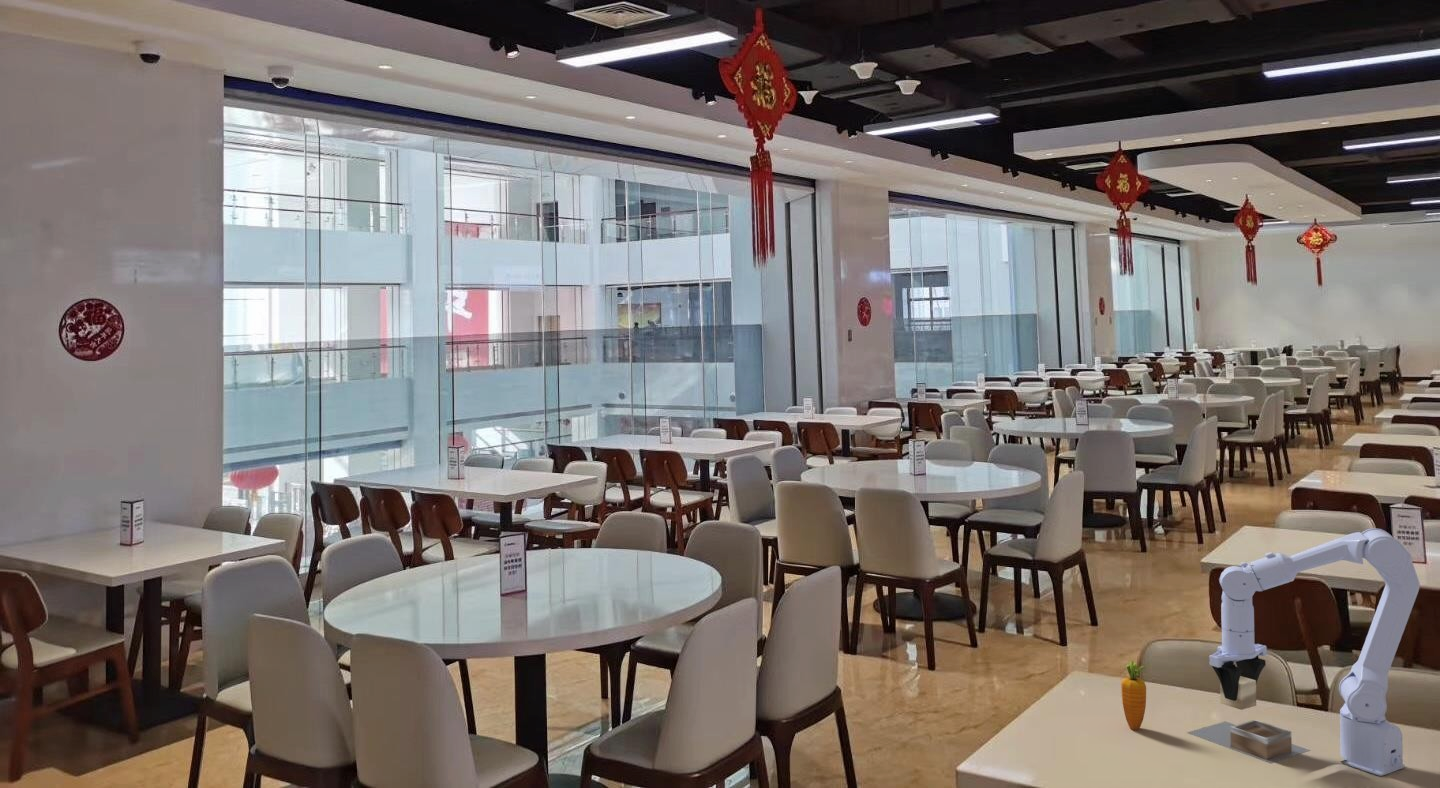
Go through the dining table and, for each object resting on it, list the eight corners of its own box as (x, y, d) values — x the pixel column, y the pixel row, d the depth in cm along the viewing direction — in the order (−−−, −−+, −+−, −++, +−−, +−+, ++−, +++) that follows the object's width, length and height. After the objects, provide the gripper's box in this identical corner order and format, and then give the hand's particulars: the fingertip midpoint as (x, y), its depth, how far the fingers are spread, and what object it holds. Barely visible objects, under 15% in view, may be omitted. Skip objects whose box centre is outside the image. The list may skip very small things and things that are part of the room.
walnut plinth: (1291, 751, 191) (1291, 731, 191) (1266, 760, 187) (1266, 739, 187) (1255, 739, 197) (1254, 719, 197) (1230, 746, 194) (1230, 726, 194)
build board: (1310, 755, 191) (1310, 750, 191) (1270, 768, 186) (1270, 763, 186) (1225, 726, 207) (1225, 721, 207) (1186, 737, 202) (1186, 732, 202)
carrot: (1125, 727, 208) (1124, 656, 208) (1150, 732, 205) (1149, 660, 205) (1118, 734, 205) (1116, 662, 204) (1143, 739, 201) (1142, 666, 201)
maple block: (1256, 705, 195) (1255, 680, 194) (1241, 709, 193) (1240, 684, 192) (1235, 699, 199) (1234, 674, 198) (1220, 703, 197) (1219, 678, 196)
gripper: (1243, 618, 202) (1244, 684, 202) (1195, 629, 195) (1196, 697, 196) (1276, 626, 196) (1277, 694, 196) (1227, 637, 189) (1229, 708, 189)
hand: (1239, 696), depth 195 cm, fingers closed on maple block, 4 cm apart
